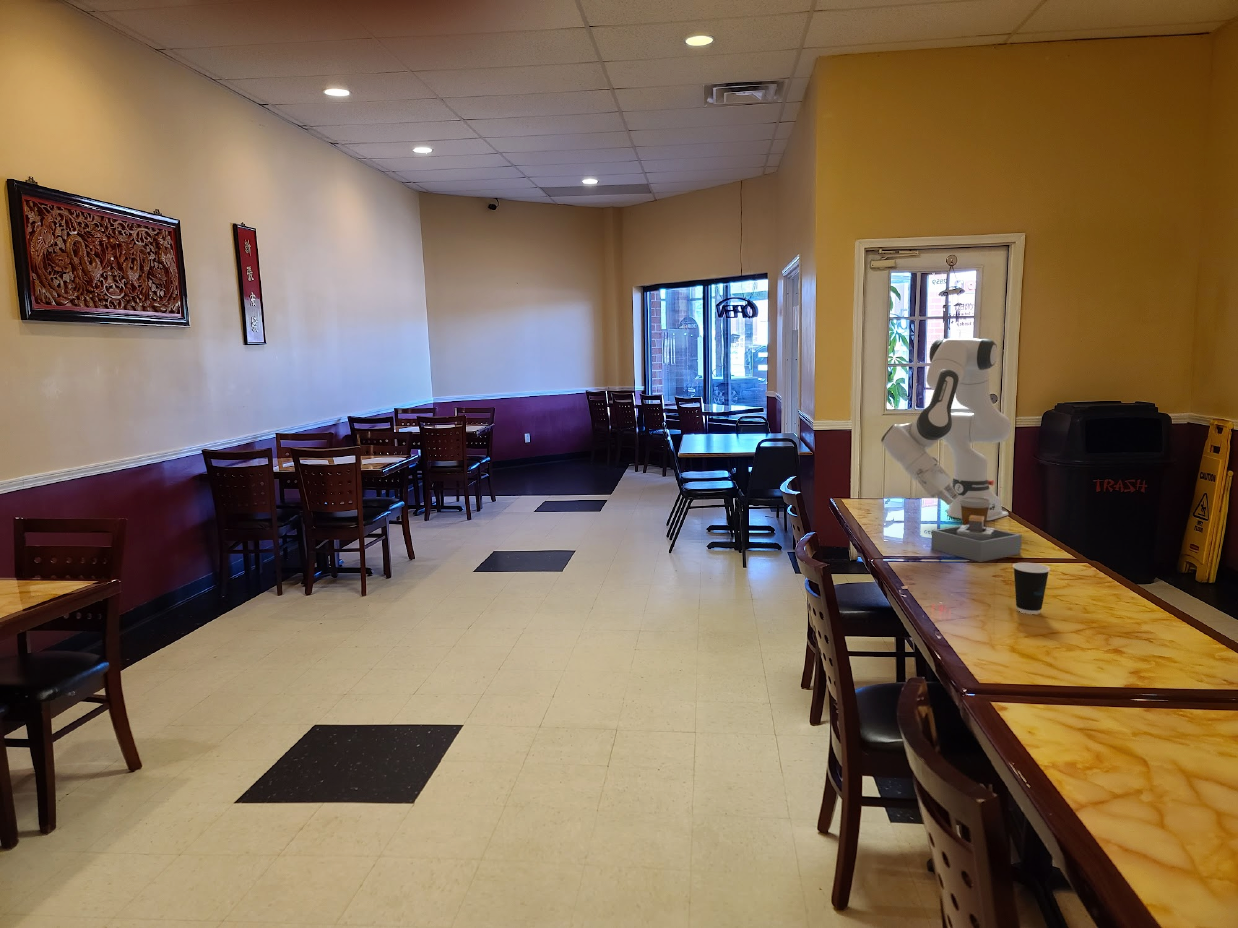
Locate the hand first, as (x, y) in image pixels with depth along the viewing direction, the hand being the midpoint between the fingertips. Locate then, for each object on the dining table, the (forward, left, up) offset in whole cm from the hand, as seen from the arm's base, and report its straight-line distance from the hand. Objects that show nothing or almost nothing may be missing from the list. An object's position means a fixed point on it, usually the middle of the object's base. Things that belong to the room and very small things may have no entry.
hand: (953, 500), depth 241 cm
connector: (-3, +6, -12) cm, 14 cm away
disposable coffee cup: (-22, -10, -16) cm, 29 cm away
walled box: (-3, +6, -15) cm, 17 cm away
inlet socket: (-3, +6, -15) cm, 17 cm away
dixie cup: (+33, +50, -16) cm, 62 cm away
